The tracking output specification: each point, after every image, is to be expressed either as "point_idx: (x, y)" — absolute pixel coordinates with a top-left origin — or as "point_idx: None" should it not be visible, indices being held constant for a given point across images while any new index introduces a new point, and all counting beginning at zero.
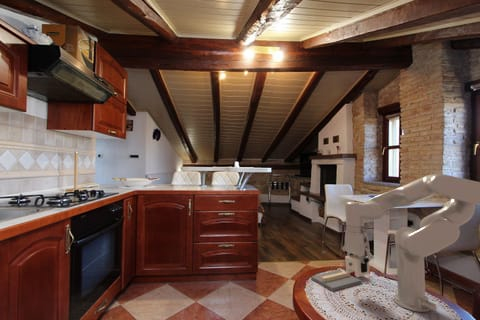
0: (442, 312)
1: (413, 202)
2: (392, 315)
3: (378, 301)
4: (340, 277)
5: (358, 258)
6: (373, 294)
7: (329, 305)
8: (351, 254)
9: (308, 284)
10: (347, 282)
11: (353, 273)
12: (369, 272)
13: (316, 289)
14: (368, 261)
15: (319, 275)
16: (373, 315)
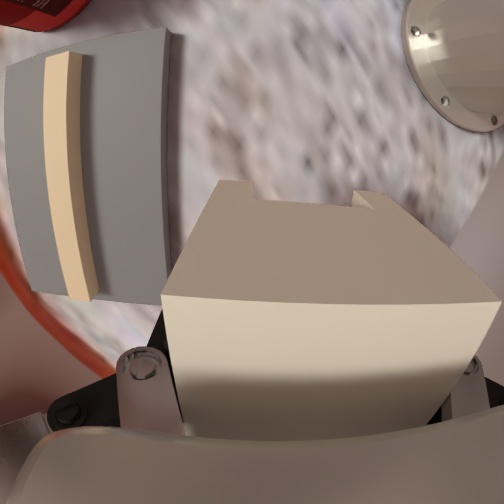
0: None
1: None
2: (454, 239)
3: (377, 167)
4: (77, 150)
5: None
6: (316, 105)
7: None
8: (158, 414)
9: (83, 331)
10: (143, 155)
11: (74, 6)
12: (388, 199)
13: (132, 339)
14: (487, 387)
15: (25, 243)
16: None
